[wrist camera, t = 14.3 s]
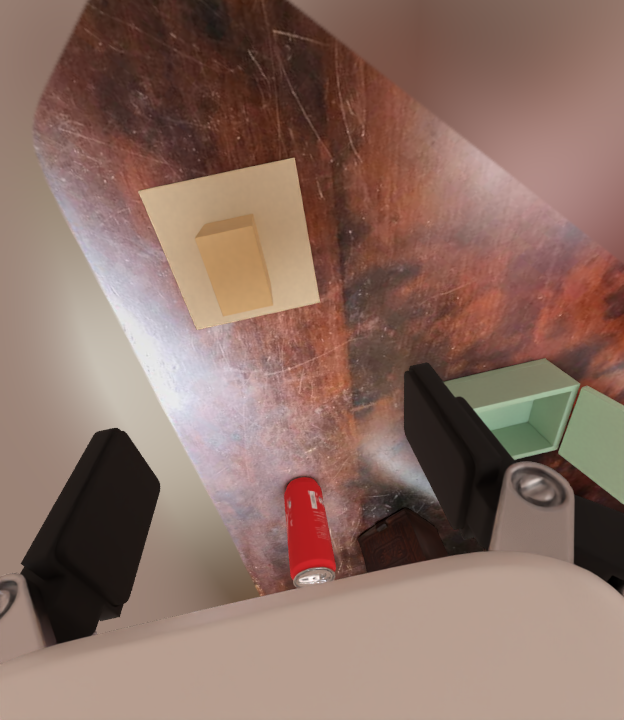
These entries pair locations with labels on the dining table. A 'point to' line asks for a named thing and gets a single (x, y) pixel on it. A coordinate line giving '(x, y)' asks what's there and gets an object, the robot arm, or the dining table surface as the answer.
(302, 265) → the placemat
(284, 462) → the dining table surface
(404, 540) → the manual coffee grinder
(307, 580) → the beverage can
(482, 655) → the robot arm
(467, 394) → the lunchbox
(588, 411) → the lunchbox lid
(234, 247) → the tan wooden block
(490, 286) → the dining table surface
